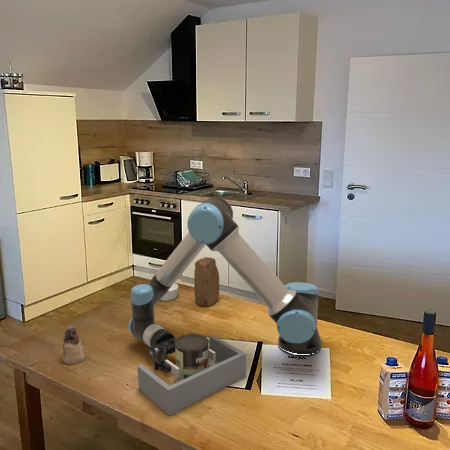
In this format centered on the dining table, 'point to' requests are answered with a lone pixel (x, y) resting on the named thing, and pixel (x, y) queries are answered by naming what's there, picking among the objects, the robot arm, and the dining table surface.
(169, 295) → the ramekin
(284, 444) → the dining table surface
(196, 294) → the block
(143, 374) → the grey u-shaped bracket
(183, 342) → the coffee can
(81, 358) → the figurine
